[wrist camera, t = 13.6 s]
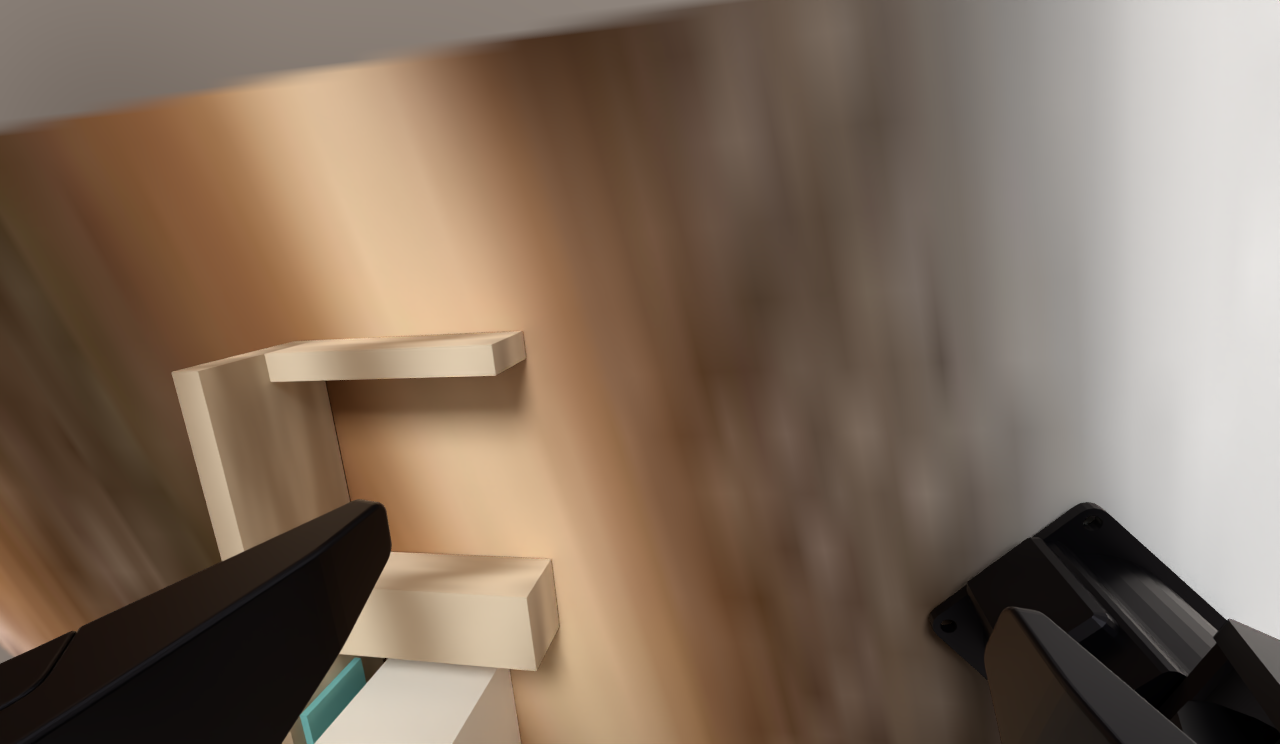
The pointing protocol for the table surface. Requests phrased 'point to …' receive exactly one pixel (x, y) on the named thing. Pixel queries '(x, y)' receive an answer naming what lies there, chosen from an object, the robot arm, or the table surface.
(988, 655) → the robot arm
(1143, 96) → the table surface
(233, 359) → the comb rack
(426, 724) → the plug block
